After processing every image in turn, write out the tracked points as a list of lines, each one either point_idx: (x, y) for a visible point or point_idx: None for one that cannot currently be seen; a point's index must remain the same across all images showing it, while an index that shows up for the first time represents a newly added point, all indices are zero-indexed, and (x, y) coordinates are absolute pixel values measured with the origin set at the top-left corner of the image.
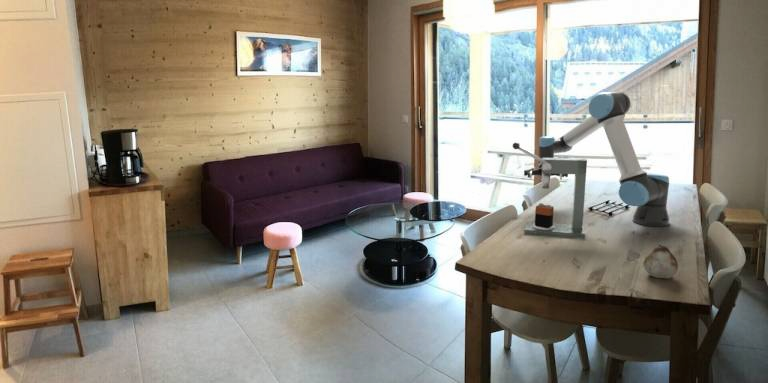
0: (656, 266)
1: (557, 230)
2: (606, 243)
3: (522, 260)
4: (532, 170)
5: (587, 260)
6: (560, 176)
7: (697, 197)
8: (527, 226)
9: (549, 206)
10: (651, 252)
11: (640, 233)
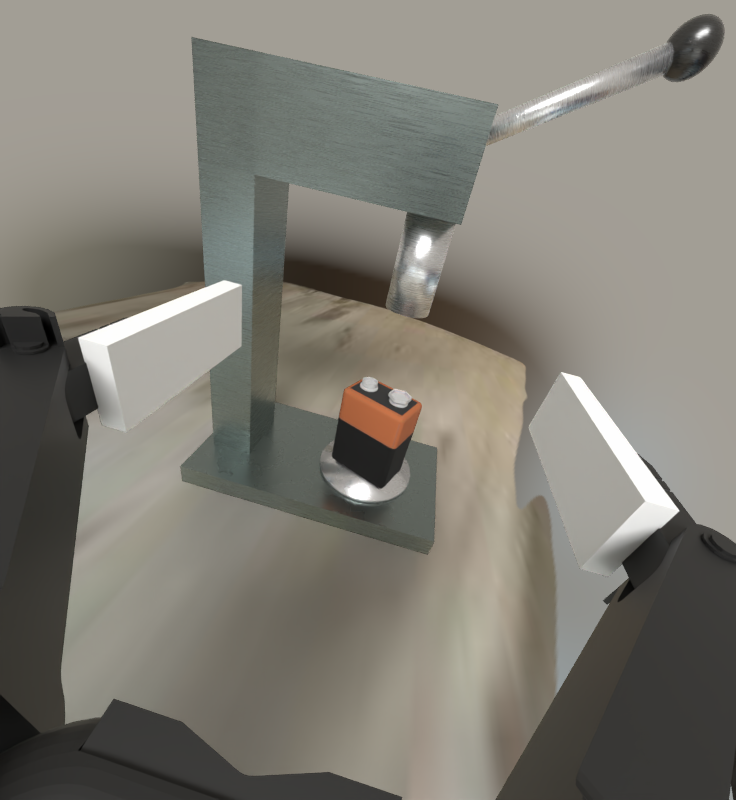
0: None
1: (326, 429)
2: None
3: (433, 355)
4: (696, 606)
5: (320, 337)
6: (239, 314)
7: None
8: (426, 475)
9: (366, 380)
10: None
11: None
